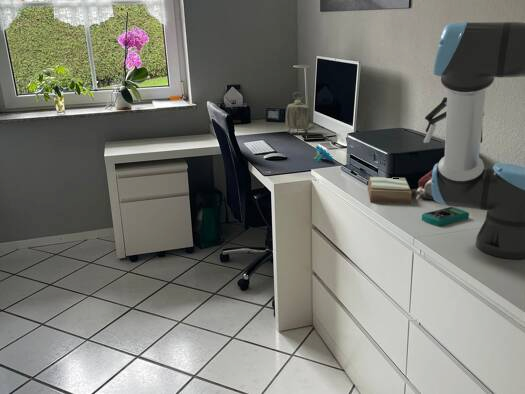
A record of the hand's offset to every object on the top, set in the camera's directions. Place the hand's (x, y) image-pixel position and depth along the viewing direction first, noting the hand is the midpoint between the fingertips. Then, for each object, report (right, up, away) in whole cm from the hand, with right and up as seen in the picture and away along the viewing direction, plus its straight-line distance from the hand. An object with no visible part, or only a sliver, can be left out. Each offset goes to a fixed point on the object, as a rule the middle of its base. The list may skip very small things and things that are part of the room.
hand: (442, 150), depth 169 cm
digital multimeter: (-1, -23, -5) cm, 24 cm away
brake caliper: (+2, -16, +16) cm, 23 cm away
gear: (-32, +1, +70) cm, 77 cm away
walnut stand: (-14, -15, +18) cm, 27 cm away
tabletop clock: (-39, +23, +136) cm, 143 cm away
